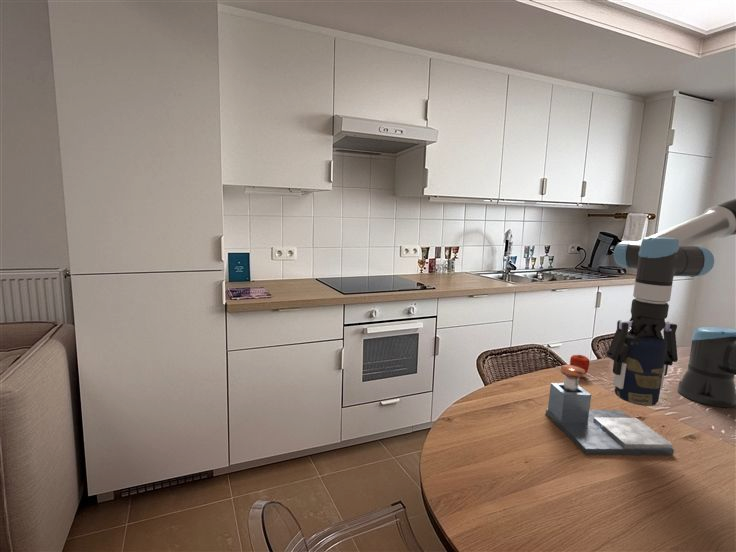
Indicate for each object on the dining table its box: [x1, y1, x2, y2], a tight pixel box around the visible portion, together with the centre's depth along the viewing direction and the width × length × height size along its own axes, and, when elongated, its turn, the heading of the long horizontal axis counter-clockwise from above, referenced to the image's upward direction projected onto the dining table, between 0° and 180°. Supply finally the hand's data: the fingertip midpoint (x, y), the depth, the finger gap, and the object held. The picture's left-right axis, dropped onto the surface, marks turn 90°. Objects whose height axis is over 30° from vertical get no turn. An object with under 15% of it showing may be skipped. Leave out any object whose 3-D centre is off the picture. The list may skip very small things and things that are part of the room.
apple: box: [569, 354, 590, 376], centre depth 148 cm, size 6×6×8 cm
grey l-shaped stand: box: [545, 382, 675, 456], centre depth 109 cm, size 22×20×10 cm
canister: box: [614, 333, 667, 407], centre depth 104 cm, size 10×10×18 cm
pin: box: [560, 364, 586, 392], centre depth 113 cm, size 6×6×9 cm
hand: (637, 386), depth 104 cm, fingers closed on canister, 9 cm apart
